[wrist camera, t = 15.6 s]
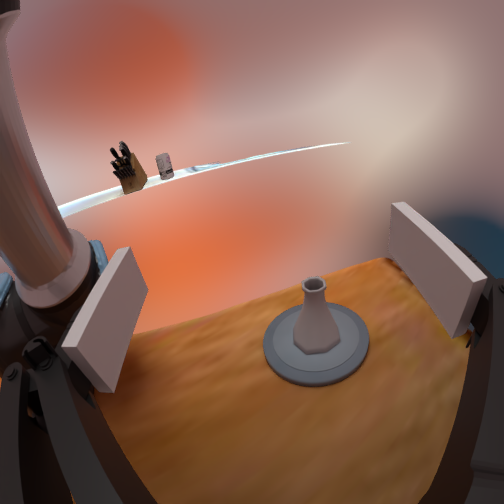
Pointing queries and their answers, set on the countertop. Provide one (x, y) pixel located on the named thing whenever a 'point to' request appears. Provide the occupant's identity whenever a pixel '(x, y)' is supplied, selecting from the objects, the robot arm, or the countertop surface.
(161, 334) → the countertop surface
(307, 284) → the flask
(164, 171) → the supplement can
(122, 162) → the knife block
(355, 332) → the dish
